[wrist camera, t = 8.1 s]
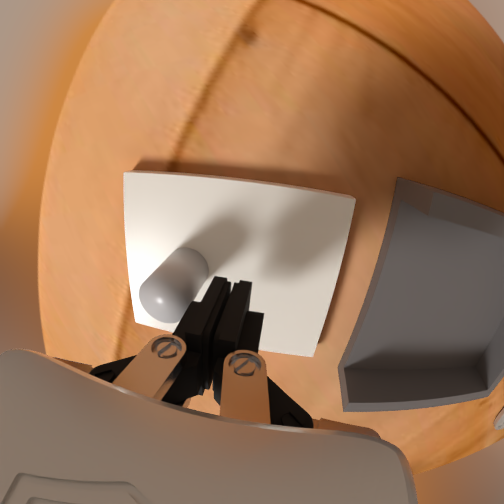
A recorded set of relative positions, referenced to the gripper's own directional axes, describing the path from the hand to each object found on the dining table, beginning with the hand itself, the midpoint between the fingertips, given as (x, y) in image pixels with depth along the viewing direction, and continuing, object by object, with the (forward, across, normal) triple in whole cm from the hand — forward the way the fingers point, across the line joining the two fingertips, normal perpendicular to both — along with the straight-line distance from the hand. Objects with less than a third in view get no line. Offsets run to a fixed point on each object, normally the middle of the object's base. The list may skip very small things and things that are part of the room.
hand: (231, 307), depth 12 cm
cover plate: (+4, +1, 0) cm, 4 cm away
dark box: (+4, -14, 0) cm, 14 cm away
